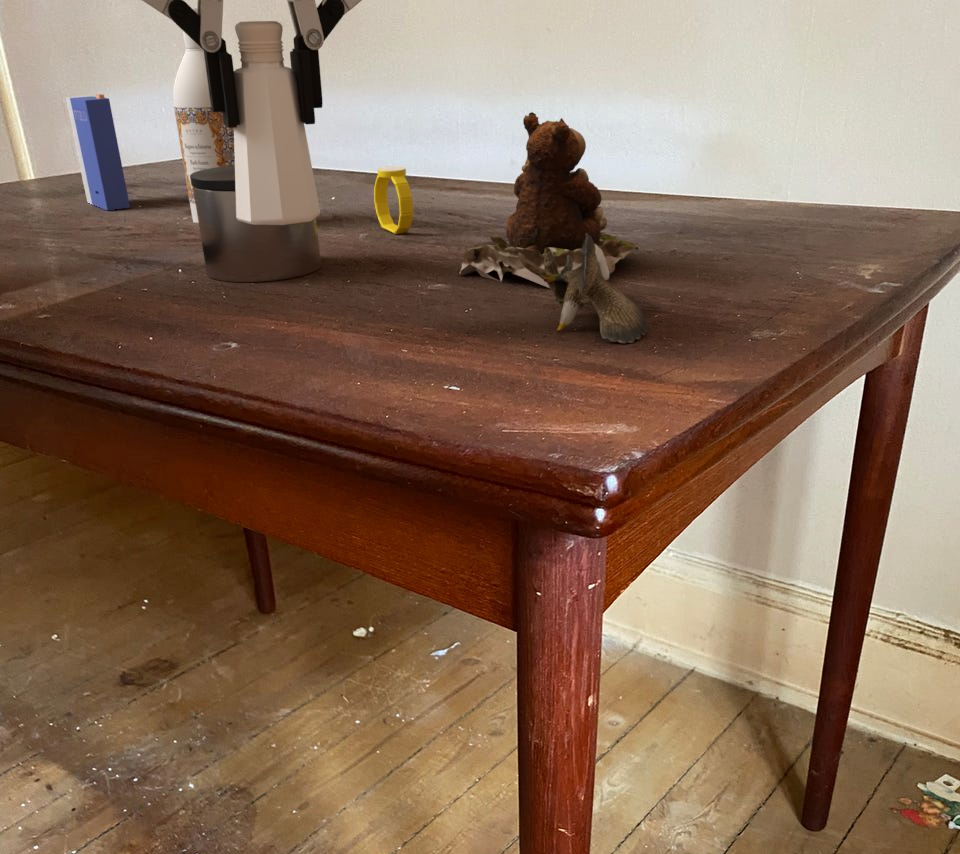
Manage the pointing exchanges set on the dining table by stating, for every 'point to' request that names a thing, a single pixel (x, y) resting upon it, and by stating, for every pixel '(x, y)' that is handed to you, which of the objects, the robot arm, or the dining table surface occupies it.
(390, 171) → the watch
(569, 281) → the eagle figurine
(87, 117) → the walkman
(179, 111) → the bath foam
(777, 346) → the dining table surface
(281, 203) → the pepper shaker
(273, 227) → the canister
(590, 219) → the bear figurine
